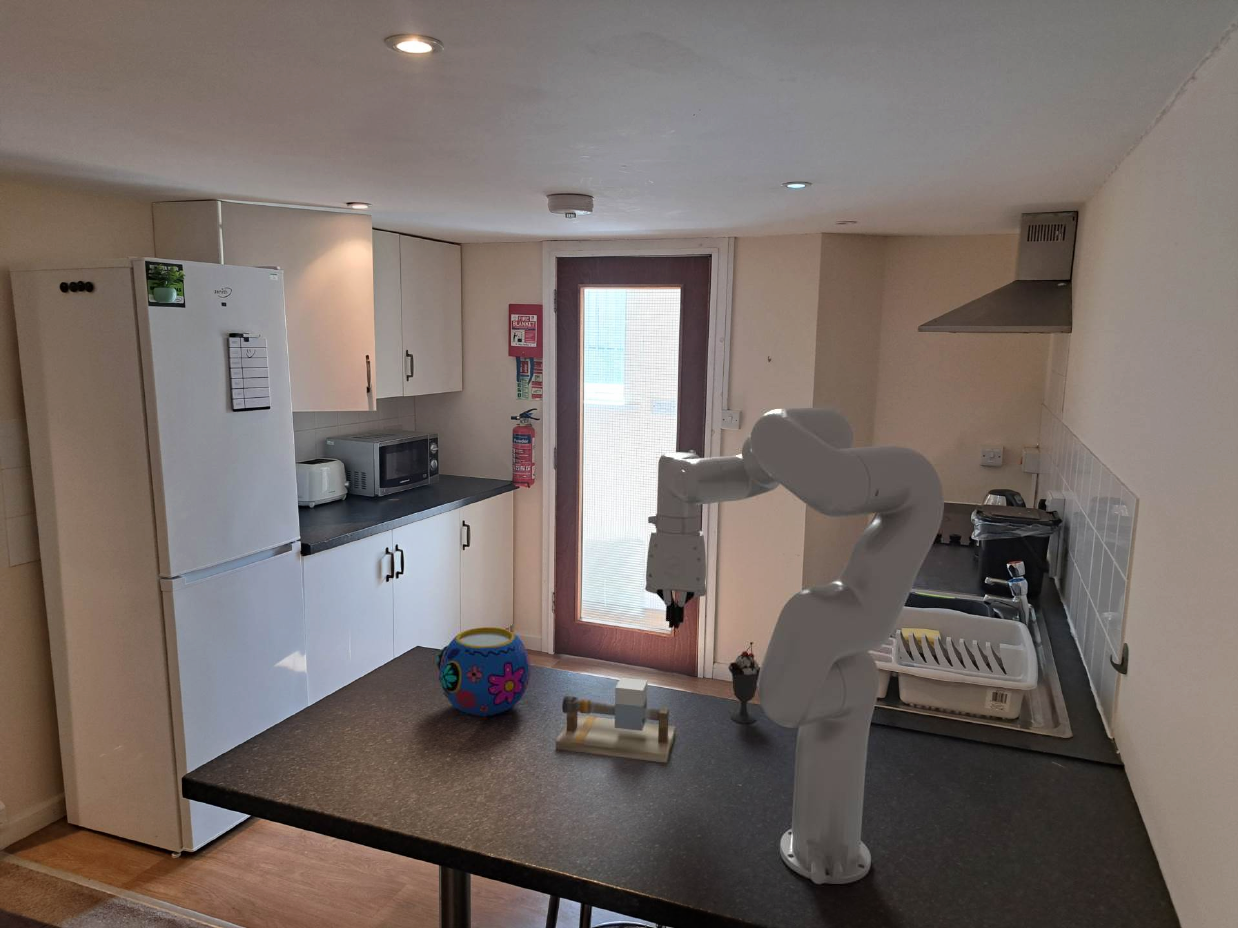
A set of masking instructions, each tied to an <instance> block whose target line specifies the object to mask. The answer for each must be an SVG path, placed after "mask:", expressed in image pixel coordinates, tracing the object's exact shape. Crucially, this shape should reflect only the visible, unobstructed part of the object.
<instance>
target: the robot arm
mask: <svg viewBox="0 0 1238 928" xmlns="http://www.w3.org/2000/svg"><path fill="white" fill-rule="evenodd" d="M853 442H854V433H853V429H852V426H851V424H850V422H849V420H848V419H847V418H846V417H844V416H843V415H842V414H841V413H839V412H838V411H835V410H834V409H831V408H827V407H795V408H794V407H793V408H792V407H791V408H790V407H789V408H788V407H787V408H776V409H772V410H770V411H768V412H766V413H764V414H763V415H762V416H760V417H759V418H758V420H756V421H755V424H754V425H753V427H752V429H751V432H750V434H749V436H747V438H746V439H745V440H744V443H743V445H742V448H741V453H740V454H737V455H728V456H711V457H710V456H709V457H700V456H699V455H698V454H695V453H692V452H682V451H678V452H677V451H676V452H674V451H673V452H665V453H663V454H661V456H660V457H659V459H658V464H657V466H658V467H657V491H656V492H657V493H656V494H657V496H656V497H657V499H656V501H657V502H656V513H655V514H652V515H648V518H647V519H648V521H647V522H648V524H652V525H654V527H655V528H654V529H653V530H652V531H651V533H650V537H649V542H648V548H647V549H648V550H647V558H646V569H645V582H646V583H645V587H644V588H645V589H644V590H645V591H646V592H648V593H650V594H651V593H652V594H654V595H655V594H656V595H657V596H658V597H659V598H660V599H661V600H662V602H664V605H665V622H668V628H669V629H673V628H675V629H679V627H680V625H681V623H682V624H683V623H684V619H685V605H686V604H687V603H689V601H690V600H692V599H693V598H698V597H705V596H706V595H707V592H708V591H707V586H706V577H707V576H706V575H707V562H706V561H707V560H706V559H707V557H706V556H707V555H706V543H705V535H704V531H701V529H700V527H701V505H709V504H715V503H725V502H737V501H742V500H746V499H751V498H753V497H756V496H757V497H758V496H759V495H762V494H766V493H769V492H771V491H773V490H776V489H777V488H778V487H779V486H782V487H783V488H784V489H786V490H787V491H789V492H790V493H791V494H793V496H795V497H797V498H798V499H799V500H800V501H802V502H803V503H805V505H807V507H809V508H811V509H812V510H814V511H815V512H817V513H819V514H821V515H824V516H827V517H830V518H840V519H841V518H843V519H844V518H849V517H858V516H865V515H872V514H876V515H875V516H874V518H873V520H872V522H871V523H870V524H869V525H868V526H867V527H866V528H865V530H863V531H862V533H861V535H860V536H858V538H857V540H856V542H855V543H854V545H853V547H852V549H851V551H850V554H849V557H848V560H847V561H846V564H845V566H844V568H843V570H842V572H841V574H840V575H839V577H838V578H837V579H836V580H834V581H832V582H829V583H824V584H821V585H817V586H812V587H807V588H805V589H802V590H800V591H798V592H797V593H794V595H793V596H792V597H790V598H789V600H788V601H787V602H785V604H784V606H783V608H782V609H781V611H780V613H779V616H778V619H777V621H776V624H775V627H774V629H773V632H772V634H771V638H770V640H769V643H768V645H767V648H766V651H765V655H764V657H763V660H762V662H761V665H760V667H761V668H760V672H759V677H758V682H757V695H758V700H759V703H760V706H761V708H762V710H763V712H764V714H765V715H766V716H767V717H768V718H769V720H770V721H771V722H772V723H775V724H776V725H779V726H781V727H784V728H798V729H797V736H796V737H797V738H796V749H795V763H794V785H793V802H792V820H791V821H792V822H791V829H788V830H786V832H784V833H783V835H782V836H781V838H780V841H779V854H780V857H781V859H782V860H783V862H784V863H785V864H786V865H787V866H788V867H789V868H790V869H791V870H792V871H794V872H796V873H797V874H799V875H800V876H803V877H804V878H807V879H810V880H811V881H812V882H813V883H815V884H816V885H817V884H818V885H821V884H831V885H832V884H833V885H845V884H850V883H854V882H857V881H858V880H861V879H863V878H864V877H865V876H866V875H868V873H869V872H870V869H871V865H872V855H871V852H870V850H869V849H868V847H867V846H866V844H865V843H864V842H863V841H862V839H861V837H862V822H863V811H864V809H863V808H864V794H865V779H866V766H867V756H868V755H867V754H868V746H869V745H868V742H869V735H870V727H871V722H872V717H873V714H874V711H875V710H874V709H875V707H876V702H877V699H878V694H879V689H880V675H879V670H878V666H877V663H876V661H875V659H874V657H873V656H872V655H871V653H870V651H873V650H875V649H877V648H880V647H882V646H883V645H885V644H886V643H887V641H888V640H889V639H890V637H891V635H892V633H893V632H894V630H895V627H896V625H897V623H898V621H899V618H900V616H901V614H902V611H903V609H904V607H905V606H906V605H905V604H906V603H907V600H908V598H909V595H910V593H911V591H912V589H913V586H914V584H915V580H916V578H917V576H918V573H919V571H920V569H921V567H922V565H923V563H924V561H925V559H926V557H927V555H928V553H929V552H930V550H931V547H932V545H933V544H934V542H935V539H936V537H937V535H938V533H939V530H940V527H941V524H942V520H943V516H944V509H945V507H944V506H945V499H944V498H945V497H944V490H943V485H942V482H941V479H940V477H939V474H938V473H937V470H936V469H935V467H934V465H933V464H932V462H930V461H929V459H928V458H927V457H925V456H924V455H923V454H922V453H920V452H918V451H917V450H915V449H911V448H909V447H905V446H897V445H877V446H876V445H871V446H861V447H852V445H853ZM674 592H679V595H678V599H677V600H676V601H675V598H674V595H673V594H674Z"/></svg>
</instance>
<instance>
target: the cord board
mask: <svg viewBox="0 0 1238 928" xmlns="http://www.w3.org/2000/svg"><path fill="white" fill-rule="evenodd" d="M561 705H562V706H561V709H562V713H563V714H566V724H565V725H564V727H563V728H562V730H561V732H560V734H559V735H558V736H557V739H556V740H555V749H556V750H562V751H570V752H578V753H579V752H580V753H586V754H593V755H604V756H610V757H618V758H625V759H626V758H627V759H634V760H642V761H648V762H649V761H651V762H658V763H666V764H667V762H668V759H669V755H670V751H671V749H672V746H673V743H674V740H675V739H674V738H675V736H676V725H669V710H670V709H669V707H666V706H665V707H664V706H660V708H654V707H653V708H652V707H647V708H645V707H644V708H643V719H646V720H649V721H658V724H657V723H648V722H645V725H644V727H643V730H642V731H638V730H629V729H621V728H615V718H607V717H606V718H605V717H598V716H592V715H591V716H590V715H589V714H597V715H606V716H614V717H615V703H606V702H598V701H592V700H591V699H583V698H582V699H579V698H578V697H577V696H572V695H571V696H569V695H565V696H564V697H563V700H562V704H561ZM578 712H579V713H580V714H587V715H579V713H578Z"/></svg>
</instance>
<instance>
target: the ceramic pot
mask: <svg viewBox="0 0 1238 928" xmlns="http://www.w3.org/2000/svg"><path fill="white" fill-rule="evenodd" d="M528 654H529V653H528V651H527V648H526V646H525V644H524V642H523V641H522V640H521V638H519V636H518V635H517V634H515V633H514V632H512V631H510V630H508V629H505V628H501V627H494V626H493V627H492V626H491V627H488V626H487V627H486V626H483V627H475V628H470V629H467V630H464V631H462V632H460V633H459V634H457V635H456V636H454V638H452V640H451V641H450V642H449V644H448V645H446V646H444V647H443V648H441V649H440V651H439V652H438V654H437V658H436V662H437V663H436V665H437V669H438V670H439V675H438V680H439V682H440V684H441V688H442V690H443V694H444V696H445V697H446V698H447V700H448V701H449V703H450V704H452V706H453V707H454V708H456V709H457V710H459V711H461V712H464V713H466V714H470V715H474V716H491V715H492V716H493V715H497V714H499V713H503V712H506V711H507V710H509V709H511V708H513V707H515V705H517V704H518V702H519V701H520V700H522V697H523V696H524V694H525V692H526V690H527V688H528V684H529V680H530V678H531V677H530V676H531V671H532V670H531V663H530V662H531V661H530V658H529V655H528Z"/></svg>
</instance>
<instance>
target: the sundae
mask: <svg viewBox="0 0 1238 928" xmlns="http://www.w3.org/2000/svg"><path fill="white" fill-rule="evenodd" d="M753 644H754V641H751V642H749V647H748V648H747V649H746V650H743V651H742V652H741V654H740V655H738V656H737V657H736V658H735V661H734V662H730V663H729V666H727V668H728V671H729V672H730V674H731V677H732V688H733V693H734V696H735V698H736V699H737V700H739V702H740V709H739V711H735V712H733V713H732V714H731V715H730V719H731V720H732V721H733V722H735V723H738V724H743V725H744V724H745V725H747V724H753V723H755V721H756V720H757V717H756V715H754V714H753V713H751V712H748V710H747V709H748V708H747V706H748V705H747V704H748V702H750V701H752V700H753V698H754V697H755V695H756V691H757V688H758V677H759V672H760V668H761V666H759V663H758V661H757V660H756V659H755V655H754V653H753ZM749 650H750V651H751V653H749V652H748V651H749Z"/></svg>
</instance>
